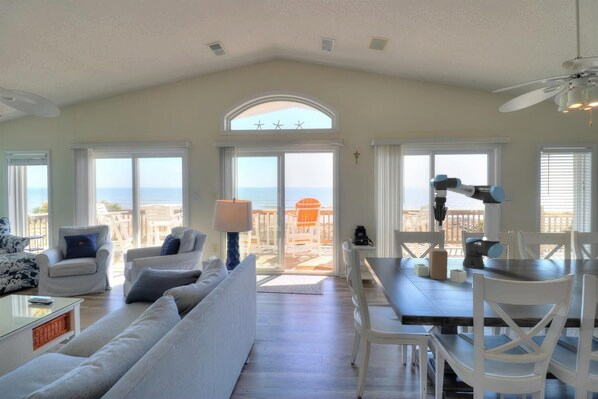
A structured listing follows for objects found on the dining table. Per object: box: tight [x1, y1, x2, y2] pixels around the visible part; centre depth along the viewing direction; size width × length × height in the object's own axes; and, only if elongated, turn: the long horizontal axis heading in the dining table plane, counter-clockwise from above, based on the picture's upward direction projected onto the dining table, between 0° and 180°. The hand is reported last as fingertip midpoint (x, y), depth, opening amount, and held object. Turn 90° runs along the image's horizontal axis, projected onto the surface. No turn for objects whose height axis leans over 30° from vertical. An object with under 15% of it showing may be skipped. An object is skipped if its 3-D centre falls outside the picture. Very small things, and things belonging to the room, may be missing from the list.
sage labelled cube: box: [413, 263, 429, 277], centre depth 223 cm, size 7×7×7 cm
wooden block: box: [428, 247, 449, 281], centre depth 215 cm, size 10×10×20 cm
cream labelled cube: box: [449, 268, 467, 284], centre depth 209 cm, size 7×7×7 cm
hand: (439, 230), depth 215 cm, fingers closed
